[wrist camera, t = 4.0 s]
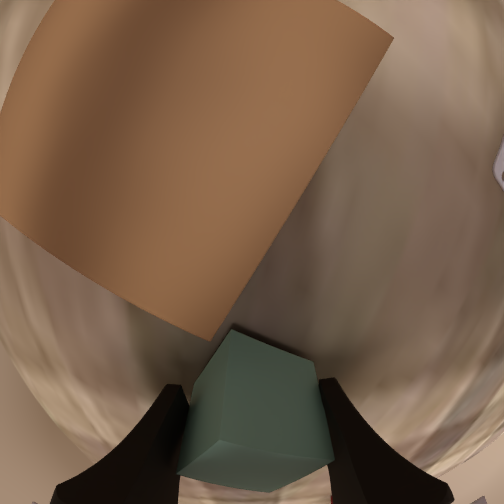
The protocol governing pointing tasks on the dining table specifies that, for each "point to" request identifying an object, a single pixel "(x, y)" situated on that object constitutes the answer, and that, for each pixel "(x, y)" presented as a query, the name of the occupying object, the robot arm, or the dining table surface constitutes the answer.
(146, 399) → the dining table surface
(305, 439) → the teal block
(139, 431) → the robot arm
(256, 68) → the walnut plinth
